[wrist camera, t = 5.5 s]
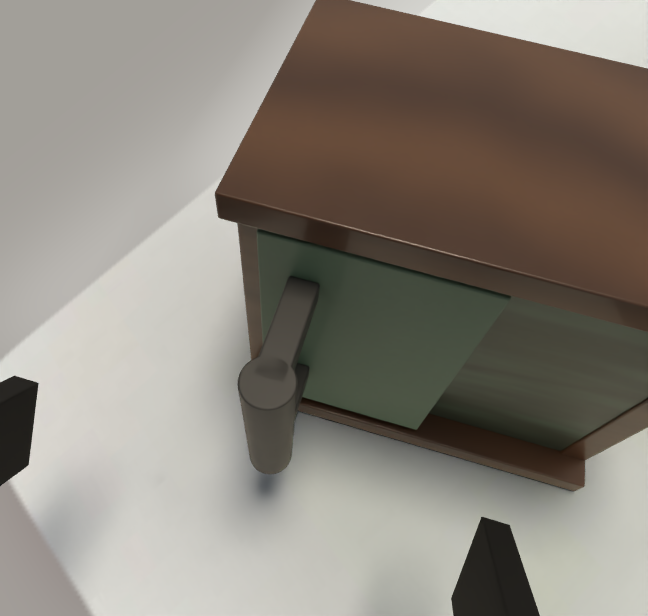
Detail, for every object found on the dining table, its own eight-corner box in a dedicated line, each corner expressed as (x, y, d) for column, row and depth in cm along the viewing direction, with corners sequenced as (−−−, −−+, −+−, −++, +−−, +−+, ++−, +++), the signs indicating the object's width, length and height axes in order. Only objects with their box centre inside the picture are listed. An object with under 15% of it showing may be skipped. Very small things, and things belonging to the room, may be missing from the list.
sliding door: (398, 529, 21) (495, 454, 12) (231, 478, 22) (195, 367, 12) (419, 418, 24) (513, 282, 14) (268, 374, 25) (262, 216, 15)
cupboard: (574, 492, 24) (865, 364, 12) (243, 395, 25) (213, 192, 13) (578, 313, 29) (786, 99, 17) (303, 239, 30) (319, -8, 18)
